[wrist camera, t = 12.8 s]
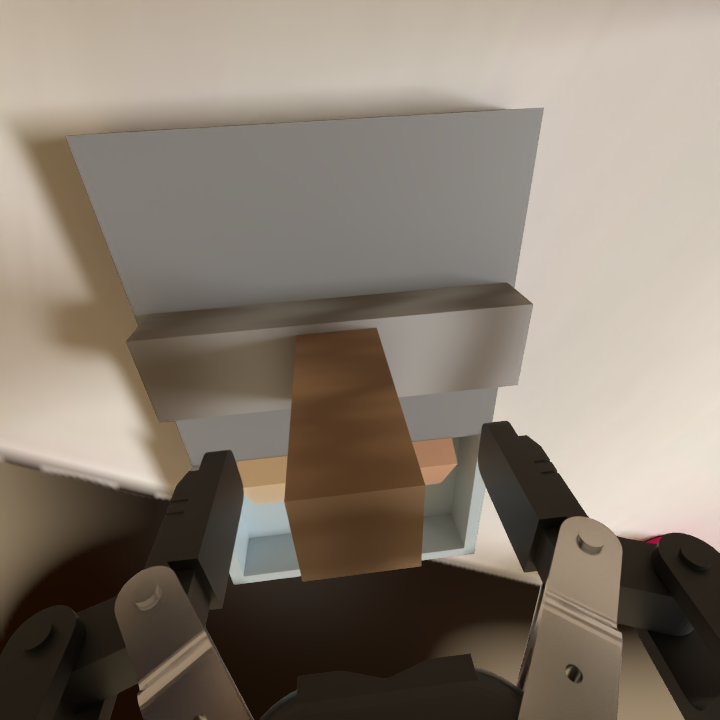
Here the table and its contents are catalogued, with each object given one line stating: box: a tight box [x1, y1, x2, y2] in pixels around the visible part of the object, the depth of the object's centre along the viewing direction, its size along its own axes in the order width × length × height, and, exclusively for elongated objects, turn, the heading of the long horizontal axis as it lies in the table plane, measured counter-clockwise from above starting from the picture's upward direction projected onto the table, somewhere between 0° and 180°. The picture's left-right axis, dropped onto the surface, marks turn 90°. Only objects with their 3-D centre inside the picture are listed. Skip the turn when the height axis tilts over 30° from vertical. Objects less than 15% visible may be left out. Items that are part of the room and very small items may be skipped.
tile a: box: [412, 438, 458, 485], centre depth 24 cm, size 5×5×2 cm
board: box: [66, 108, 544, 466], centre depth 20 cm, size 17×16×3 cm
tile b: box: [237, 456, 288, 505], centre depth 24 cm, size 5×5×2 cm
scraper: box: [126, 283, 533, 582], centre depth 14 cm, size 16×4×10 cm, turn 93°
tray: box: [191, 435, 486, 585], centre depth 26 cm, size 17×11×4 cm, turn 93°
